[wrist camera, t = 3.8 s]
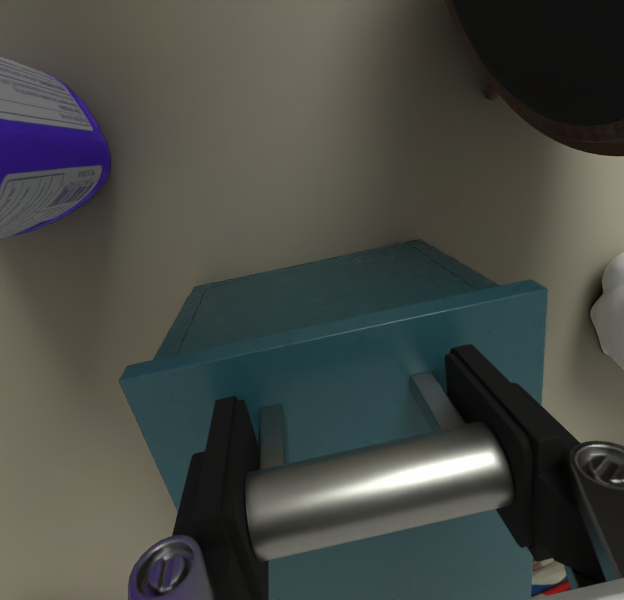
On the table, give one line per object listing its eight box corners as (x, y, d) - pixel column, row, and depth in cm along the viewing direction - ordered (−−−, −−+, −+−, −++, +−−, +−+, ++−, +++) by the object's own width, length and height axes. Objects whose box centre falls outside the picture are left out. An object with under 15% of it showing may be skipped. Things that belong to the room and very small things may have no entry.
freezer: (193, 286, 21) (145, 372, 13) (421, 238, 22) (513, 292, 13) (259, 498, 26) (253, 656, 18) (442, 457, 27) (519, 594, 19)
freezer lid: (126, 365, 12) (41, 515, 7) (531, 278, 12) (689, 371, 8) (253, 657, 18) (250, 836, 14) (519, 595, 18) (604, 751, 14)
